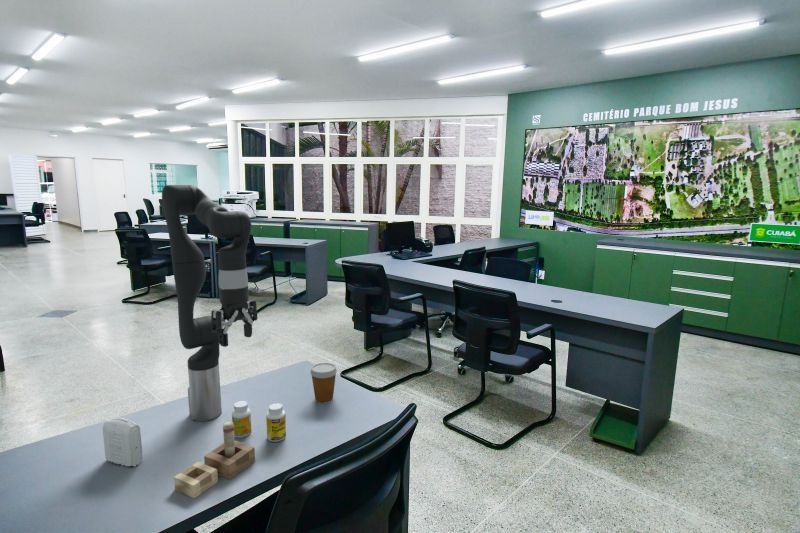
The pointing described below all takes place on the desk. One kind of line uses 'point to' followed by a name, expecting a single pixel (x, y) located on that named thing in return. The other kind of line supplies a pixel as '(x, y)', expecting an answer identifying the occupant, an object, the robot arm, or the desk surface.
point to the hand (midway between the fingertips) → (236, 341)
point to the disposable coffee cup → (323, 381)
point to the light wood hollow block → (195, 479)
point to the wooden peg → (229, 439)
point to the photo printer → (122, 441)
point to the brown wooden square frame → (230, 459)
